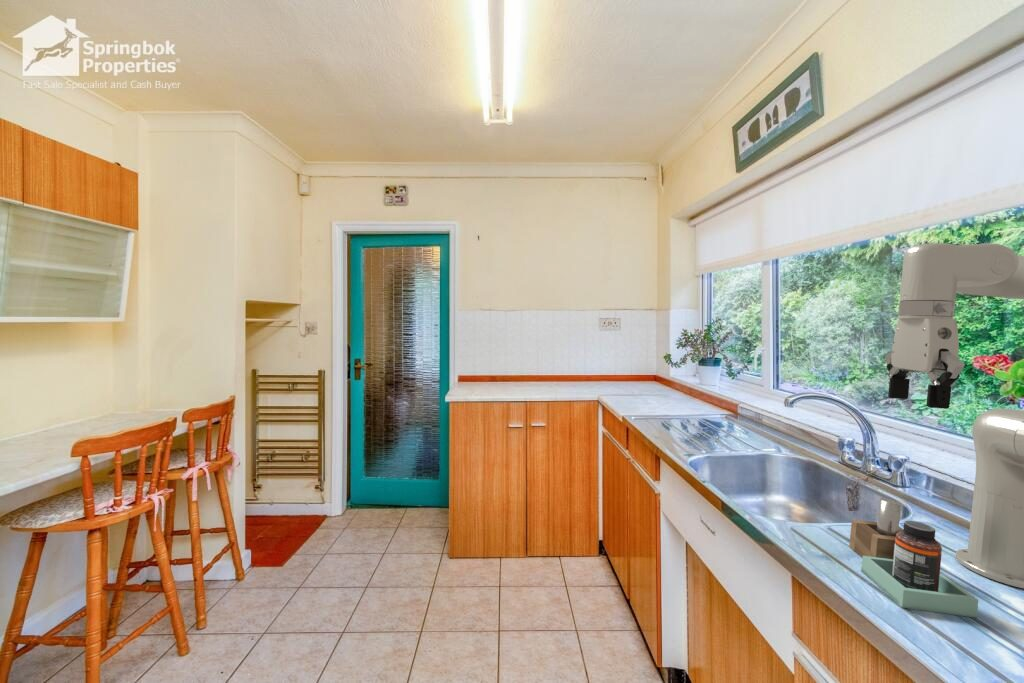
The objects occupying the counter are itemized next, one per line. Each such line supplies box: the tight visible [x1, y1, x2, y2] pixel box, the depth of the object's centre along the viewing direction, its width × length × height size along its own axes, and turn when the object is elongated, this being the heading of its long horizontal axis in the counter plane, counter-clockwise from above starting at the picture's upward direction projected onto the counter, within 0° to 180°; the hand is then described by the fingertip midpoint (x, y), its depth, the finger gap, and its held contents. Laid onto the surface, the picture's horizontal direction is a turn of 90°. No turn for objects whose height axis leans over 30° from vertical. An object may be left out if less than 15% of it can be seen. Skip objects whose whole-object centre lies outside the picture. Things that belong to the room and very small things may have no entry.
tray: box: [860, 556, 979, 618], centre depth 75 cm, size 11×11×3 cm
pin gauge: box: [876, 497, 902, 537], centre depth 86 cm, size 3×3×12 cm
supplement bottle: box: [892, 520, 943, 592], centre depth 75 cm, size 6×6×11 cm
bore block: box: [849, 518, 904, 559], centre depth 86 cm, size 8×8×6 cm
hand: (916, 402), depth 81 cm, fingers open, 9 cm apart
